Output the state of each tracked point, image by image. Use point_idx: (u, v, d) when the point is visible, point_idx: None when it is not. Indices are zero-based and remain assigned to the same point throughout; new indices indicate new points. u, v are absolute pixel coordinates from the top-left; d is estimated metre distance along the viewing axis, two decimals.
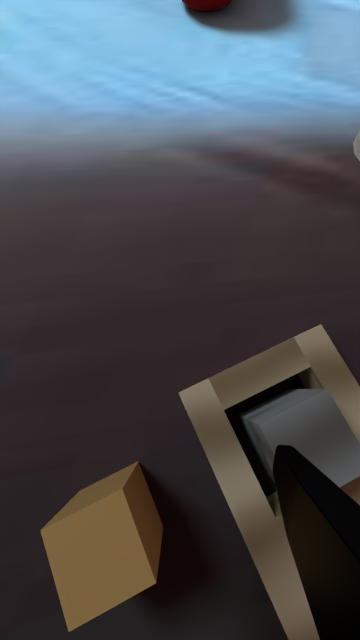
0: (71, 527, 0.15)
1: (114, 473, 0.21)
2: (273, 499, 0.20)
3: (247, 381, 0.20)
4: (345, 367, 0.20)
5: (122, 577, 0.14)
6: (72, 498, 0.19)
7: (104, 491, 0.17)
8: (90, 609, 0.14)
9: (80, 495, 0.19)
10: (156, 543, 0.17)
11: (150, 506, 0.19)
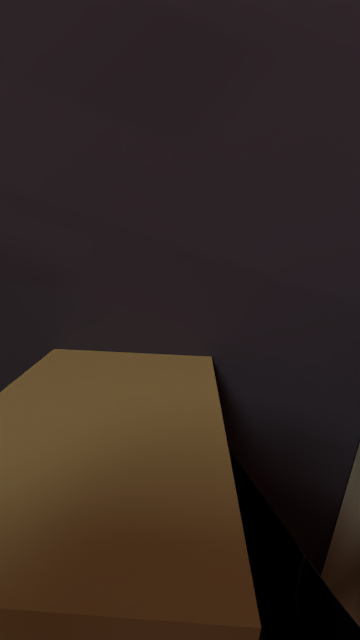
0: None
1: (145, 354, 0.08)
2: None
3: None
4: None
5: None
6: (25, 373, 0.07)
7: (130, 476, 0.04)
8: None
9: (47, 381, 0.06)
10: None
11: None
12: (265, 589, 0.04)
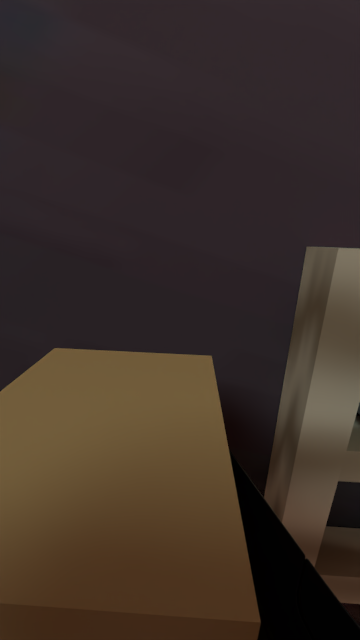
0: None
1: (146, 353, 0.08)
2: None
3: None
4: None
5: None
6: (26, 372, 0.07)
7: (130, 473, 0.04)
8: None
9: (48, 379, 0.07)
10: None
11: None
12: (265, 589, 0.04)
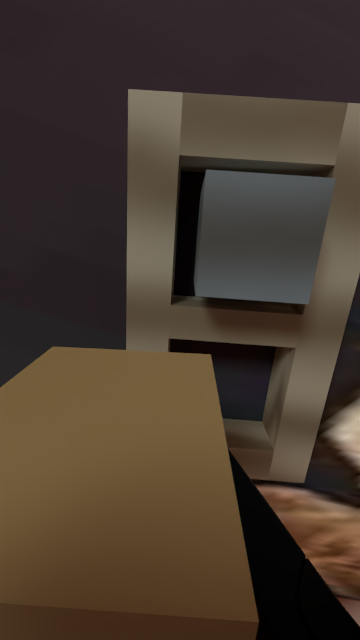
0: None
1: (144, 351, 0.08)
2: (183, 298, 0.17)
3: (234, 131, 0.12)
4: None
5: None
6: (24, 370, 0.07)
7: (128, 471, 0.04)
8: None
9: (46, 378, 0.06)
10: None
11: None
12: (265, 589, 0.04)
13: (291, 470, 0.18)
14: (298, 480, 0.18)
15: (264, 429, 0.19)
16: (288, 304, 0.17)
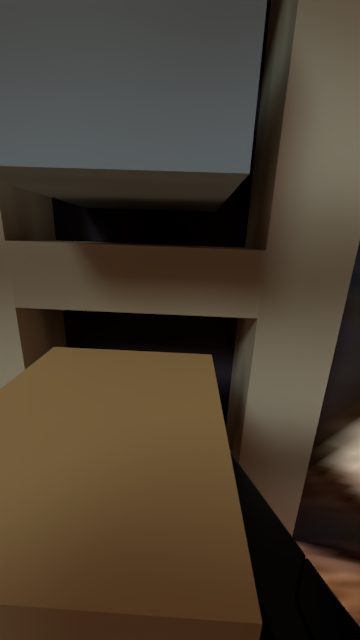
0: None
1: (145, 352, 0.08)
2: None
3: None
4: None
5: None
6: (25, 371, 0.07)
7: (130, 472, 0.04)
8: None
9: (47, 378, 0.06)
10: None
11: None
12: (265, 589, 0.04)
13: None
14: None
15: None
16: (249, 246, 0.10)
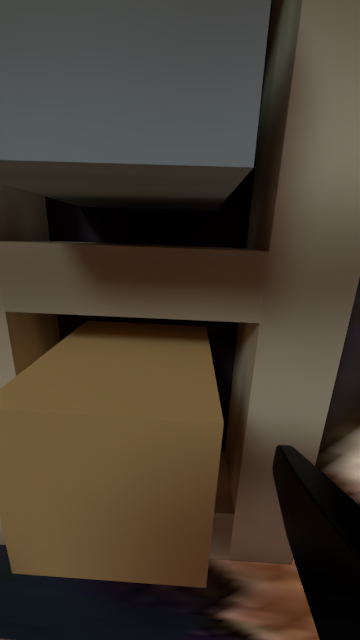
0: (59, 436, 0.05)
1: (156, 324, 0.11)
2: (56, 241, 0.09)
3: None
4: None
5: (144, 556, 0.06)
6: (72, 333, 0.09)
7: (154, 378, 0.07)
8: (62, 566, 0.07)
9: (89, 337, 0.09)
10: None
11: None
12: None
13: (268, 544, 0.10)
14: (281, 560, 0.10)
15: (225, 467, 0.12)
16: (250, 246, 0.09)
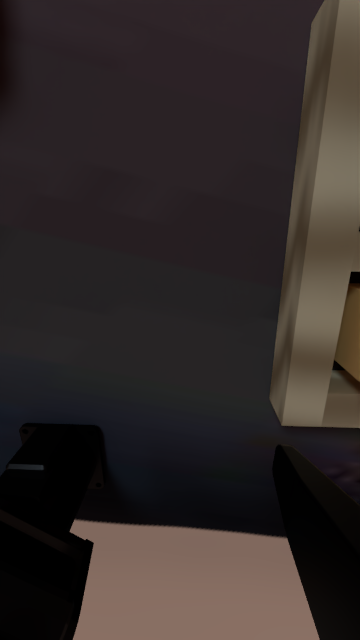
0: None
1: None
2: None
3: None
4: None
5: None
6: (354, 287, 0.16)
7: None
8: None
9: None
10: None
11: None
12: None
13: None
14: None
15: None
16: None
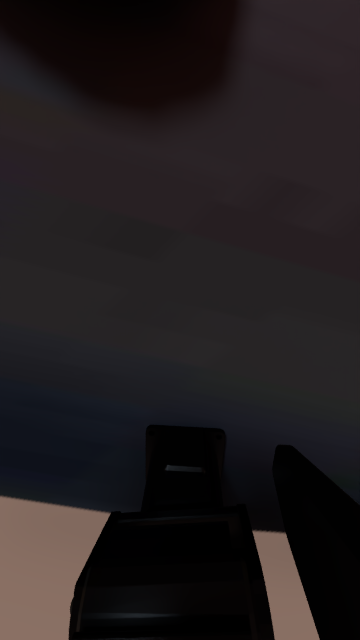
0: None
1: None
2: None
3: None
4: None
5: None
6: None
7: None
8: None
9: None
10: None
11: None
12: None
13: None
14: None
15: None
16: None
